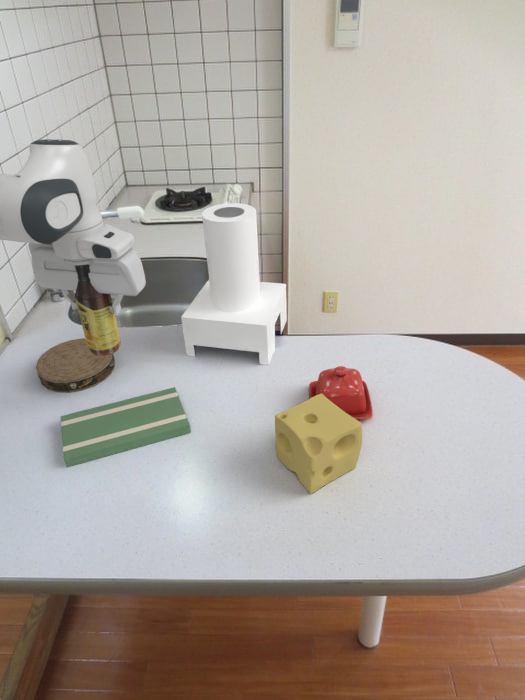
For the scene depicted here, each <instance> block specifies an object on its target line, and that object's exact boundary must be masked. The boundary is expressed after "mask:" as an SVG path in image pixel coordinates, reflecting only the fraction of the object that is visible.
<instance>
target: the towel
mask: <svg viewBox="0 0 525 700" xmlns="http://www.w3.org/2000/svg"><path fill="white" fill-rule="evenodd" d="M183 406H184V405H183V404H182V402H181V399H180V397H179V393H178V391H177V388H176V387H175V386H174V387H170V388H166V389H162V390H158V391H154V392H149V393H147V394H142V395H138V396H134V397H131V398H125V399H123V400H119V401H114V402H111V403H107V404H103V405H99V406H94V407H92V408H88V409H84V410H80V411H75V412H73V413H68V414H64V415H60V427H61V429H60V430H61V439H62V441H61V442H62V452H63V460H64V464H65V465H66V468H70V467H73V466H76V465H80V464H84V463H87V462H91V461H95V460H98V459H102V458H105V457H109V456H112V455H116V454H119V453H123V452H126V451H130V450H134V449H137V448H142V447H146V446H148V445H151V444H152V445H153V444H155V443H159V442H162V441H165V440H170V439H173V438H176V437H177V438H178V437H180V436H183V435H184V436H185V435H188V434H191V432H192V431H191V424H190V422H189V419H188V416H187V414H186V412H185V409H184V407H183Z"/></svg>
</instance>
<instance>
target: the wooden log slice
mask: <svg viewBox="0 0 525 700" xmlns="http://www.w3.org/2000/svg"><path fill="white" fill-rule="evenodd" d="M115 368H116V360H115V355H114V353H112V354H109V355H99V356H97V355H94V354H93V353H92V352H91V351H90V350H89V348H88V346H87V343H86V339H85V337H83V338H82V337H81V338H76V339H70V340H67V341H64V342H60V343H58V344H56V345H54V346H52V347H49V348H48V349H47V350H46V351H45V352H43V353H42V354H41V355H40V356H39V358H38V359H37V360H36V364H35V370H36V373H37V375H38V379H39V381H40V384H41V385H42V387H44V388H45V389H47V390H48V391H52V392H55V393H75V392H83V391H84V390H87V389H90V388H93V387H96V386H97V385H99V384H100V383H102V382H104V381H105V380H106V379H107V378H109V376H111V374H112V373H113V371H114V370H115Z"/></svg>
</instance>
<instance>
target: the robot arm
mask: <svg viewBox="0 0 525 700" xmlns="http://www.w3.org/2000/svg"><path fill="white" fill-rule="evenodd" d="M93 175H94V174H93V171H92V167H91V164H90V162H89V159H88V157H87V154H86V152H85V150H84V149H83V146H82V145H81V144H80V143H78V142H76V141H74V140H71V139H51V138H48V139H47V138H45V139H37V140H34V141H32V142H31V143H29V155H28V158H27V160H26V162H25V163H24V165H23V167H21V169H20V170H19V171H18V172H16V173H15V174H8V173H7V174H6V173H0V240H2V241H9V242H16V243H24V244H25V243H26V244H28V250H29V253H30V255H31V265H32V273H33V277H34V281H35V282H36V284H37V285H38V286H39V287H40V288H42V289H51V290H52V289H53V290H60V291H61V293H62V296H63V297H64V298H65V299H66V300H67V301H68V302H69V303H70V307H71V309H72V311H78V308H77V304H76V300H75V292H76V289H77V285H78V275H77V272H76V269H75V265H78V266H79V265H87V264H88V265H90V266H89V268H90V273H88V274H89V278H90V283H91V284H92V286H93V287H94V288H95V290H96V291H98V292H99V293H105V294H110V295H111V298H112V300H113V302H112V303H111V304H110V305H109V306H108V309H109V310H110V311H109V313H110V314H115V315H119V314H121V312H122V306H121V301H122V300H123V297H124V296H126V297H127V296H128V297H136V296H138V295H139V294H140V293H141V292H142V291H143V290H144V288H145V287H146V284H147V281H146V273H145V270H144V266H143V263H142V260H141V257H140V255H139V253H138V251H136V249H134V248H132V247H133V246H134V245H135V237H134V235H133V234H132V233H130V232H127V231H124V230H122V229H119V228H117V227H115V226H113V225H110V224H108V223H106V222H104V219H103V216H102V214H101V212H100V209H99V207H98V203H97V201H98V200H97V199H98V192H97V188H96V183H95V178H94V176H93Z"/></svg>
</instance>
